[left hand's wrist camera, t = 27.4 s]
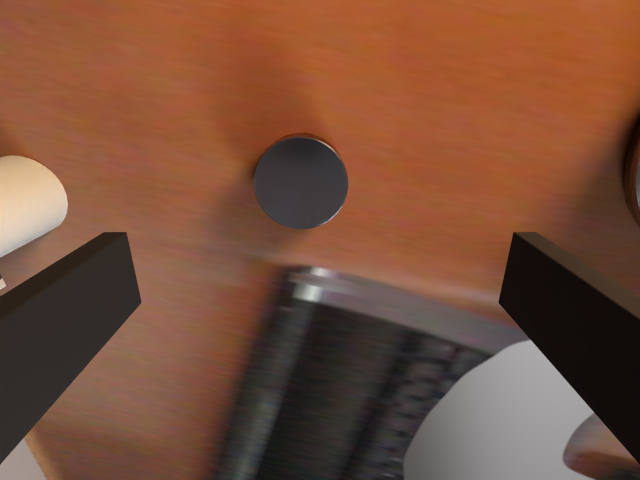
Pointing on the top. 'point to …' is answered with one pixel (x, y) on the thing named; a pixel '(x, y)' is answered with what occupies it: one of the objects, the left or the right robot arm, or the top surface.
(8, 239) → the white cylindrical bottle
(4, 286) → the right robot arm
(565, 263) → the left robot arm
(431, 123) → the top surface
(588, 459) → the top surface
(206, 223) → the top surface
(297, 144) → the lid
